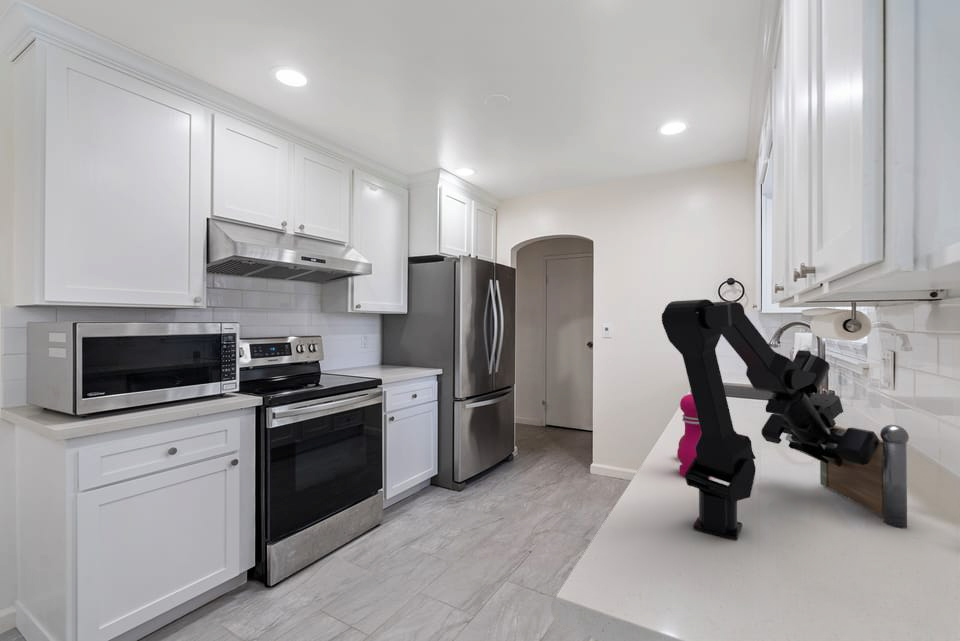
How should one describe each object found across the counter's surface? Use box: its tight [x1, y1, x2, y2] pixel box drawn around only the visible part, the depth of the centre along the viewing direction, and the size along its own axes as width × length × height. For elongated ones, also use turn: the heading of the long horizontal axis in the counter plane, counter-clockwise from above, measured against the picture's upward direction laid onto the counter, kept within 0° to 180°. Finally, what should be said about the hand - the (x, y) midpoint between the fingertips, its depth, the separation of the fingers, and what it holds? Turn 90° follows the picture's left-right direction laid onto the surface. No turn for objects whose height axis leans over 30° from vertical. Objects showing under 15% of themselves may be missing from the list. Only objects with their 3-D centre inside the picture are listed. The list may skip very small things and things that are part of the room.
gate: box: [819, 419, 883, 517], centre depth 86 cm, size 2×16×14 cm, turn 175°
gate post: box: [879, 424, 910, 529], centre depth 77 cm, size 4×4×17 cm
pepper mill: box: [676, 388, 711, 479], centre depth 102 cm, size 7×7×20 cm
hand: (834, 463), depth 89 cm, fingers closed
